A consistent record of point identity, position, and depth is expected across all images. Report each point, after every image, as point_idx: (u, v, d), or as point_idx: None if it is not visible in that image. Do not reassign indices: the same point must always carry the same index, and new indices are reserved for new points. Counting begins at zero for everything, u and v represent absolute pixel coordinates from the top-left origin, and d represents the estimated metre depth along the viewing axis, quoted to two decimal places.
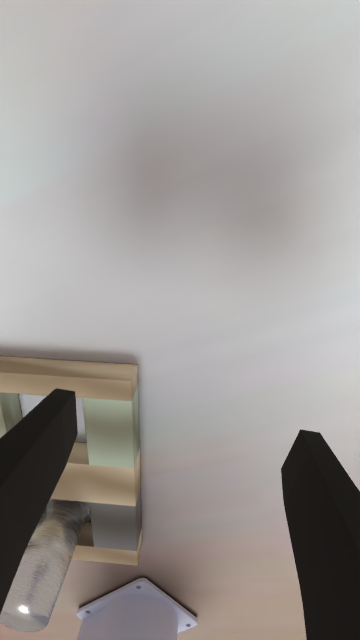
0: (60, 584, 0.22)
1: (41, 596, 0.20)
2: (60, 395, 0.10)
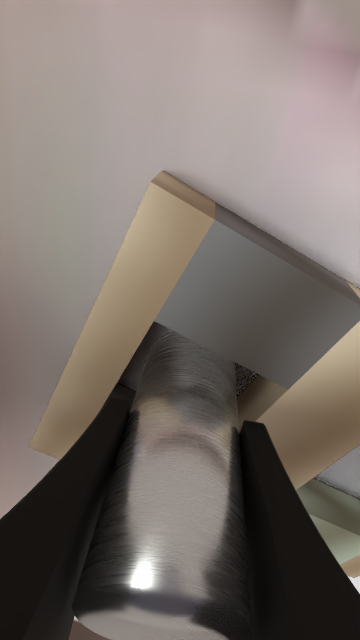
0: None
1: None
2: (118, 405, 0.10)
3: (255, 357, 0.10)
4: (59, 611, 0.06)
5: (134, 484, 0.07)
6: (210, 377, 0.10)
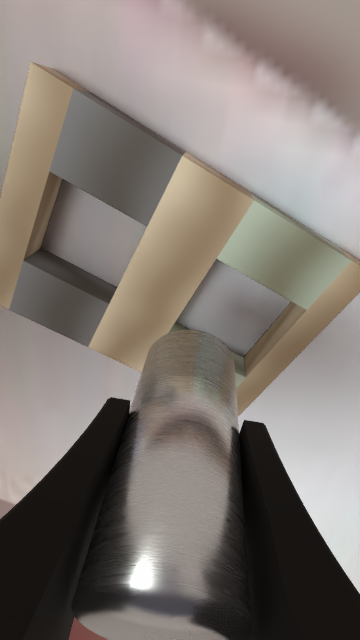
0: None
1: None
2: (117, 405, 0.10)
3: (120, 199, 0.15)
4: (59, 611, 0.06)
5: (134, 483, 0.07)
6: (210, 377, 0.10)
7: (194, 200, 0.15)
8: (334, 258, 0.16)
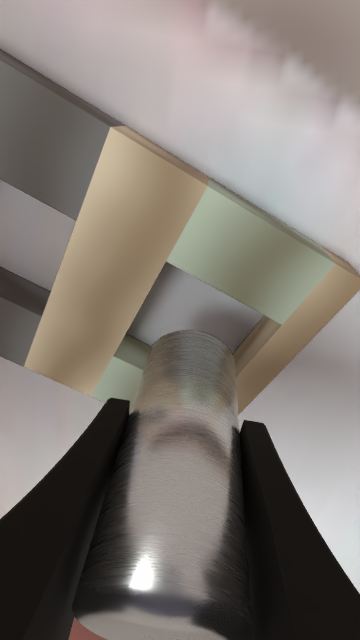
0: None
1: None
2: (117, 405, 0.10)
3: (38, 185, 0.12)
4: (59, 611, 0.06)
5: (134, 484, 0.07)
6: (210, 377, 0.10)
7: (131, 187, 0.12)
8: (314, 260, 0.12)
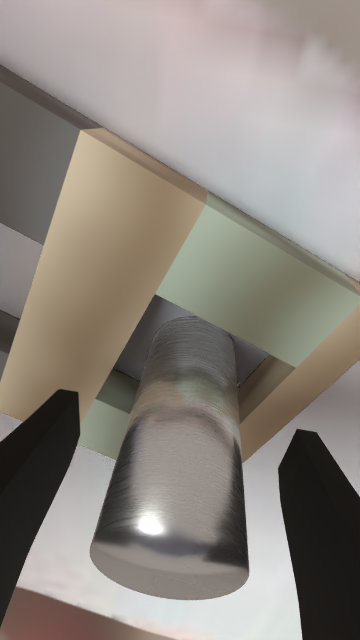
0: None
1: None
2: (64, 396, 0.10)
3: None
4: None
5: (144, 446, 0.08)
6: (211, 357, 0.11)
7: (110, 205, 0.09)
8: (338, 295, 0.10)
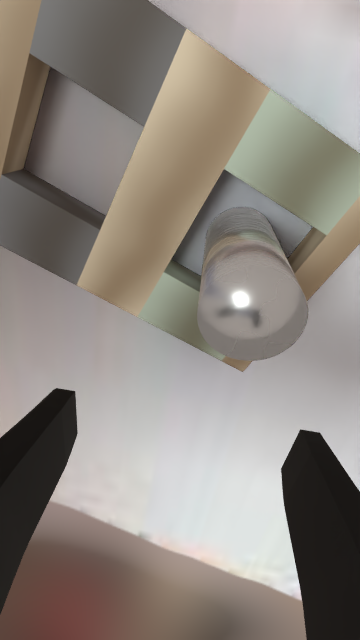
0: None
1: None
2: (60, 396, 0.10)
3: (112, 90, 0.13)
4: None
5: (229, 251, 0.12)
6: (263, 224, 0.15)
7: (199, 90, 0.13)
8: None
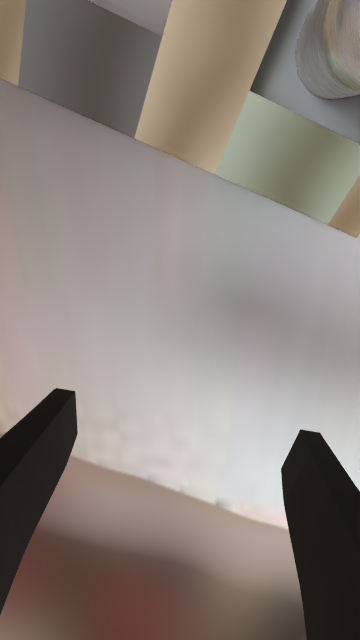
0: None
1: None
2: (61, 396, 0.10)
3: None
4: None
5: None
6: None
7: None
8: None
